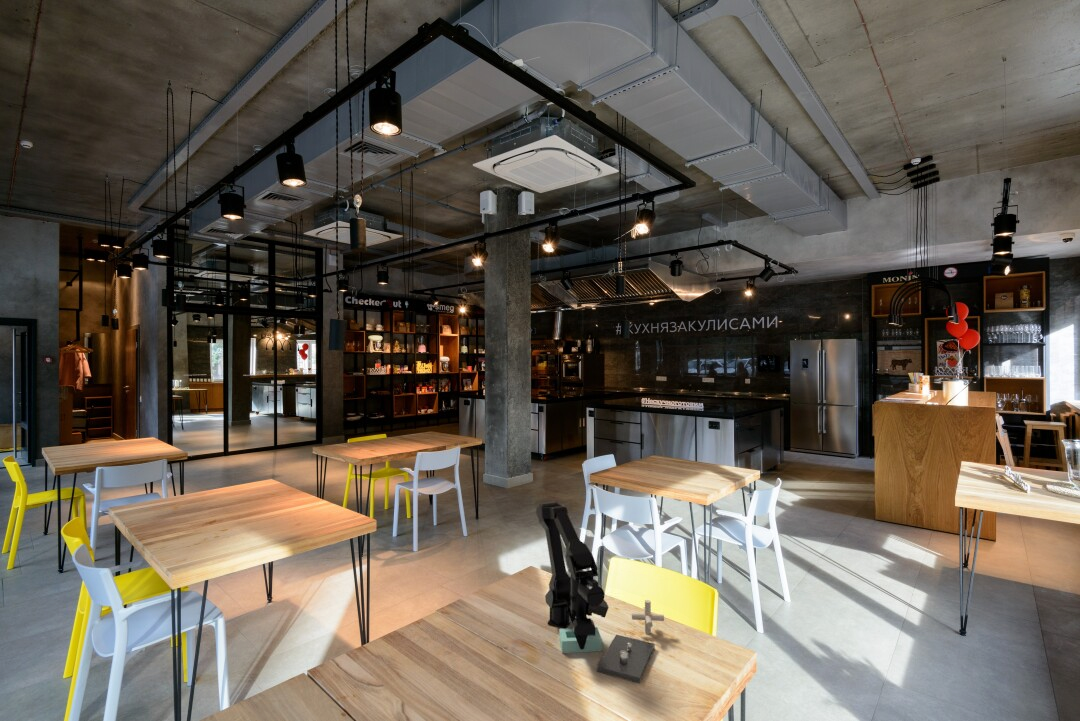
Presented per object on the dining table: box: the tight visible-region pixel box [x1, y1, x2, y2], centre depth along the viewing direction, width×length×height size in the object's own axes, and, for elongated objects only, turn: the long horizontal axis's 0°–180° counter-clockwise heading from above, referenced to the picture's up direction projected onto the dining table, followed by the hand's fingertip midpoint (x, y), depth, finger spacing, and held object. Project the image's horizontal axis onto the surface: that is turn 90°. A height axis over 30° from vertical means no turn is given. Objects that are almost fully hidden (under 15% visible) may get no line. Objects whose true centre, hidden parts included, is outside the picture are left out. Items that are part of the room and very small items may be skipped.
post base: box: [596, 634, 656, 684], centre depth 148 cm, size 12×18×4 cm, turn 154°
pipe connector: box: [631, 599, 665, 635], centre depth 162 cm, size 10×10×10 cm
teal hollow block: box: [558, 626, 603, 654], centre depth 155 cm, size 12×7×4 cm, turn 94°
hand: (580, 642), depth 155 cm, fingers closed on teal hollow block, 7 cm apart
